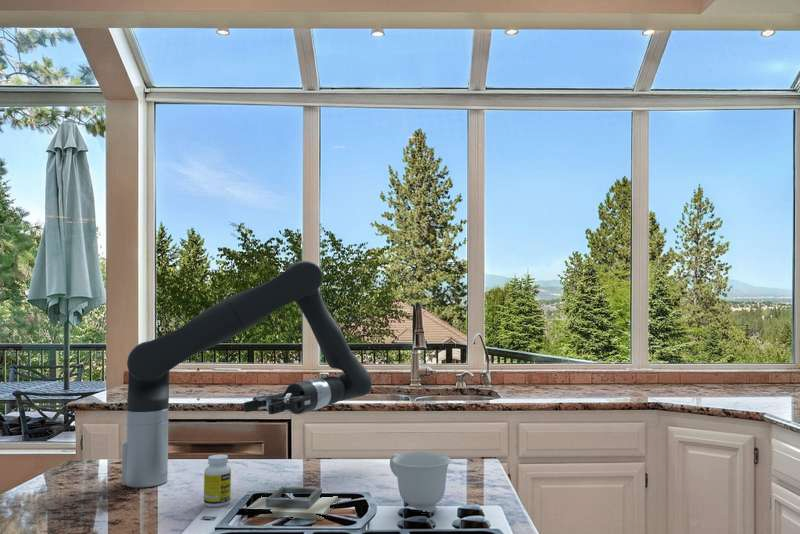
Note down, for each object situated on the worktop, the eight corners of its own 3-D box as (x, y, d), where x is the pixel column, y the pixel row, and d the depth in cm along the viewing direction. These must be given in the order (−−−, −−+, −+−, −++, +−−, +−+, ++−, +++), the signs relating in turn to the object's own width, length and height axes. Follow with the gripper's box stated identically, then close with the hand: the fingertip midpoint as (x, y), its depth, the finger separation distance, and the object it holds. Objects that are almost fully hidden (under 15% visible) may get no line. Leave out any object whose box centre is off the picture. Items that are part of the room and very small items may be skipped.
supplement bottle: (223, 508, 130) (223, 459, 130) (198, 507, 131) (199, 458, 131) (235, 500, 135) (235, 453, 136) (211, 499, 136) (212, 453, 137)
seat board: (244, 516, 124) (244, 502, 125) (270, 495, 138) (270, 482, 138) (322, 519, 122) (322, 505, 122) (341, 498, 136) (341, 485, 136)
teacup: (411, 493, 138) (411, 447, 139) (464, 508, 128) (463, 458, 129) (370, 506, 130) (370, 456, 131) (423, 523, 119) (422, 469, 120)
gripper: (287, 379, 160) (235, 390, 147) (328, 381, 152) (277, 393, 139) (289, 409, 160) (237, 423, 147) (330, 412, 151) (279, 427, 138)
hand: (256, 408), depth 143 cm, fingers open, 8 cm apart
